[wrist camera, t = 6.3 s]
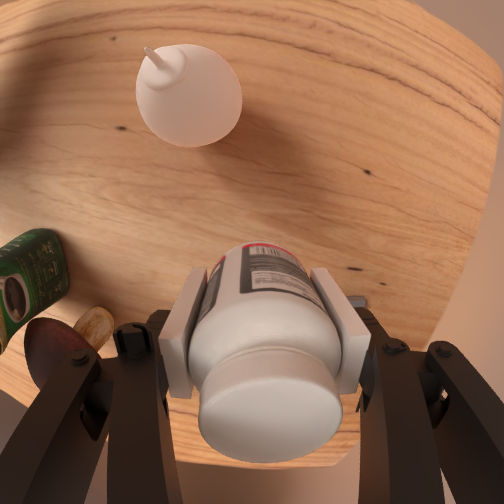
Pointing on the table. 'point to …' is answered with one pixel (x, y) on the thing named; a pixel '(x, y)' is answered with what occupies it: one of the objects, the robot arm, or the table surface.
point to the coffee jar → (29, 279)
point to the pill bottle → (264, 358)
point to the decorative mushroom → (63, 340)
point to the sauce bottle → (188, 95)
